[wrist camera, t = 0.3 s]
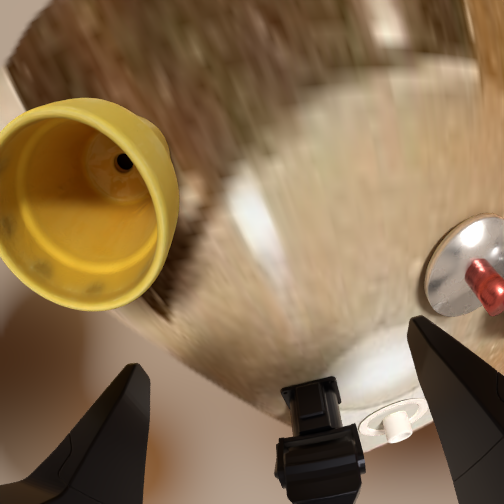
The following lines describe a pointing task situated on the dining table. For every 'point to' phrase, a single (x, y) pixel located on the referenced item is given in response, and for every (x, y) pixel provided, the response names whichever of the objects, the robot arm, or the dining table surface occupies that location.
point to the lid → (468, 268)
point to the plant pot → (85, 203)
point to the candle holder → (395, 422)
